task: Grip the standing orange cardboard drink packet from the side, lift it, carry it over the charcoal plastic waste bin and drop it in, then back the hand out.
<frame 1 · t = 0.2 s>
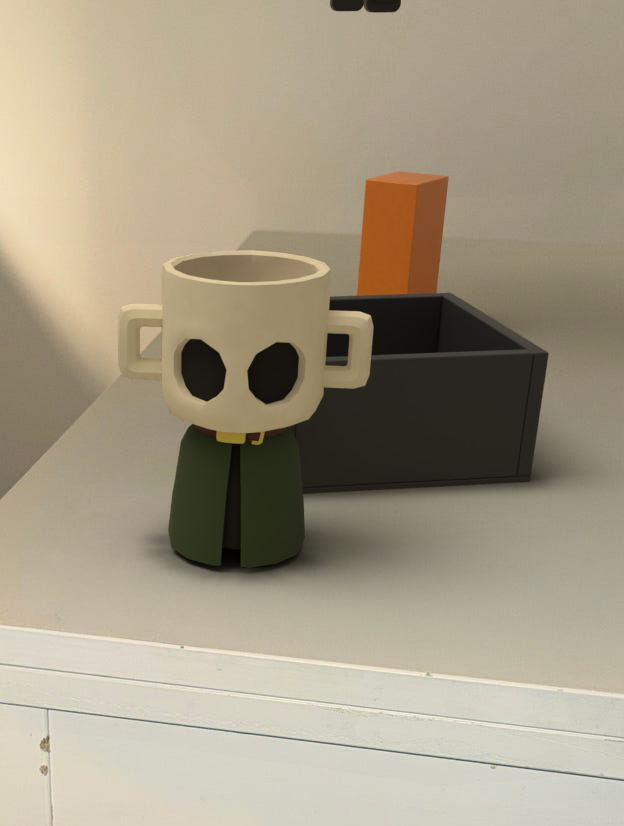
hand: (363, 11, 86), 21 cm above the table, tool pointing down, fingers open, 8 cm apart
packet: (393, 333, 97), on the table
bin: (364, 450, 73), on the table
character mug: (235, 555, 61), on the table
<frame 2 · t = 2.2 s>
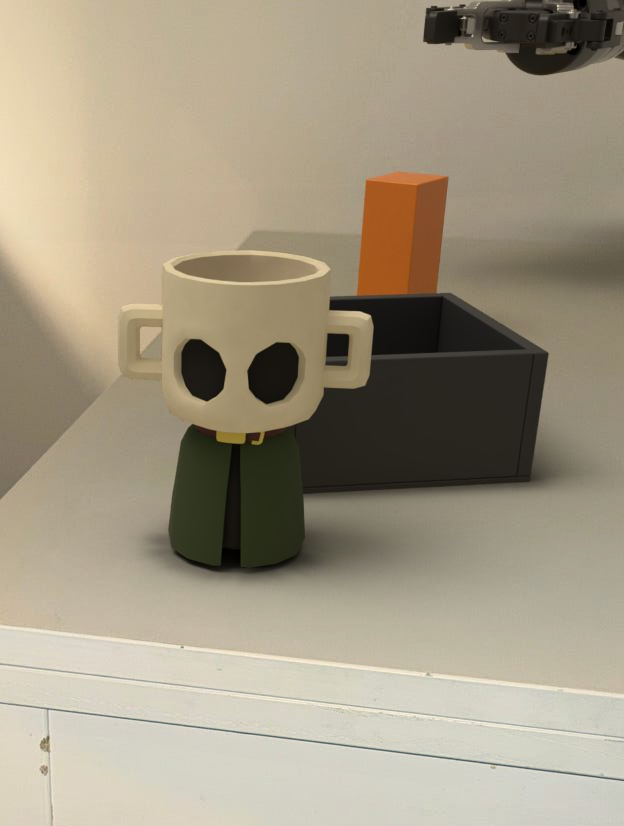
hand: (485, 30, 95), 20 cm above the table, tool horizontal, fingers open, 8 cm apart
nothing on the table moved.
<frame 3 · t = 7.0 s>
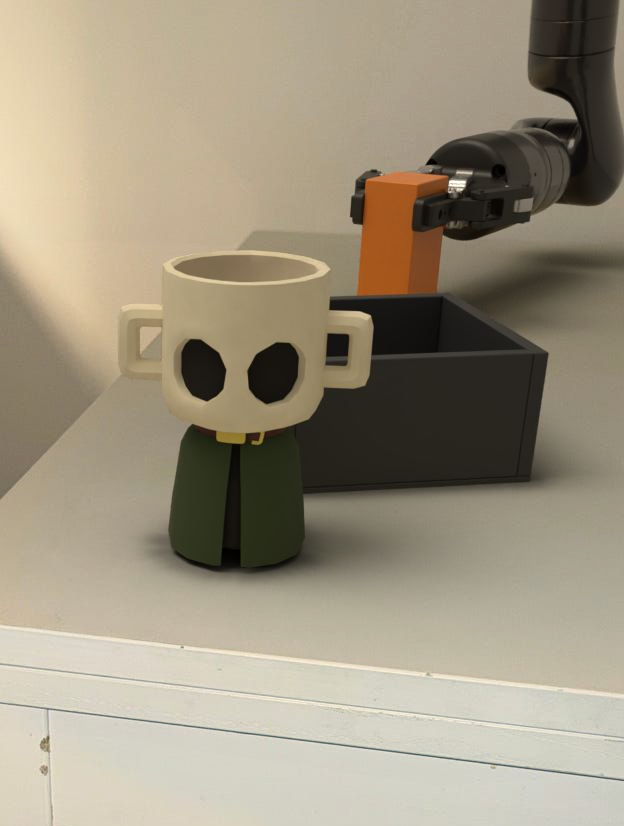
hand: (387, 212, 90), 9 cm above the table, tool horizontal, fingers closed on packet, 4 cm apart
packet: (393, 333, 97), on the table, touching gripper
everything else where it was.
when the fingers open (13 cm above the table, at t = 15.9 s): packet drops 3 cm, resting on bin.
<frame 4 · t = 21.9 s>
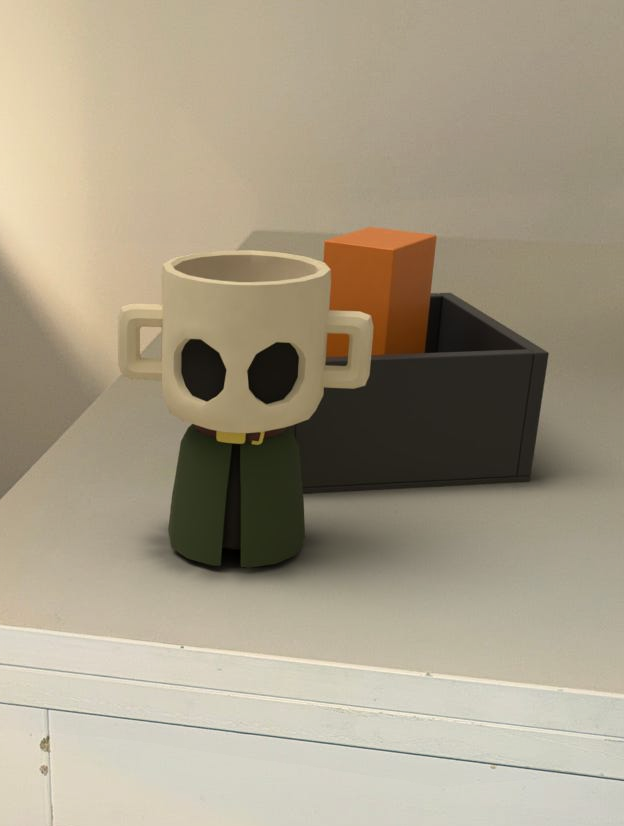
packet: (364, 440, 73), point 1 cm above the table, touching bin
everything else where it was.
at the end: packet inside the target area in the bin (0.1 cm from its centre), point 0.6 cm above the bin's base; the gripper is holding nothing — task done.
